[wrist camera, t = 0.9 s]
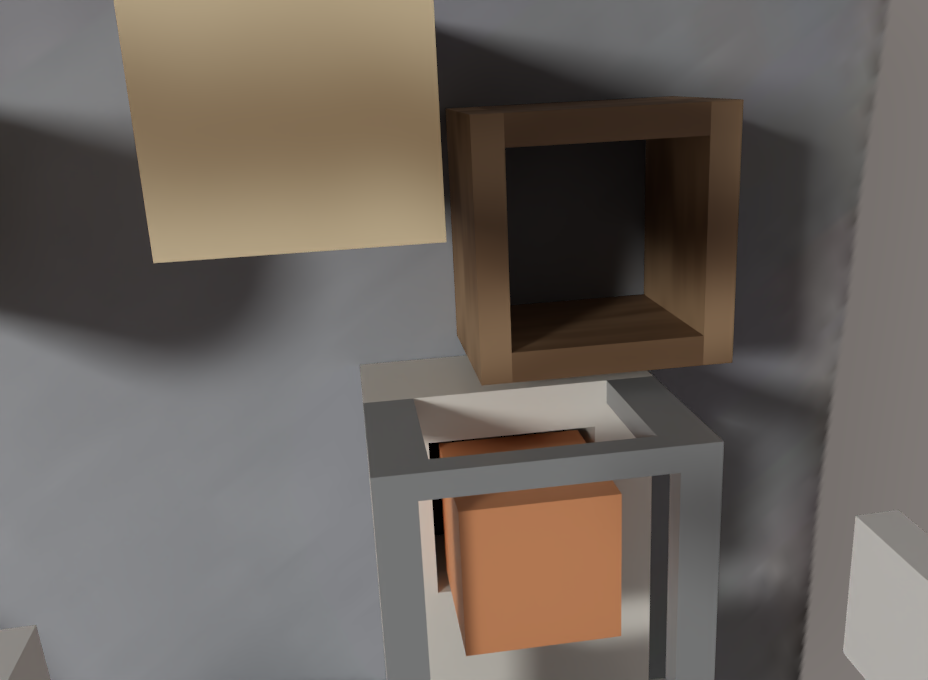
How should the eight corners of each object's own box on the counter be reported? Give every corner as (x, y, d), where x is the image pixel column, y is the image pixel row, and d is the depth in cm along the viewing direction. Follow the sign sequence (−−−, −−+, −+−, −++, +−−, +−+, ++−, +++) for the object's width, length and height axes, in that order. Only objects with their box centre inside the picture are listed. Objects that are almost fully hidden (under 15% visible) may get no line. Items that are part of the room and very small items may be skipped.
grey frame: (359, 364, 40) (370, 478, 29) (616, 342, 41) (723, 441, 30) (391, 731, 46) (410, 947, 34) (615, 700, 47) (705, 897, 36)
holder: (445, 108, 37) (469, 114, 31) (672, 96, 39) (743, 99, 32) (457, 335, 40) (481, 385, 34) (668, 317, 41) (732, 362, 35)
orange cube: (438, 443, 37) (458, 511, 31) (577, 429, 38) (621, 494, 32) (446, 569, 39) (466, 656, 33) (578, 553, 40) (621, 636, 34)
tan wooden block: (228, 16, 35) (105, -58, 16) (379, 10, 36) (429, -68, 17) (246, 168, 37) (153, 263, 18) (389, 160, 38) (446, 242, 19)
